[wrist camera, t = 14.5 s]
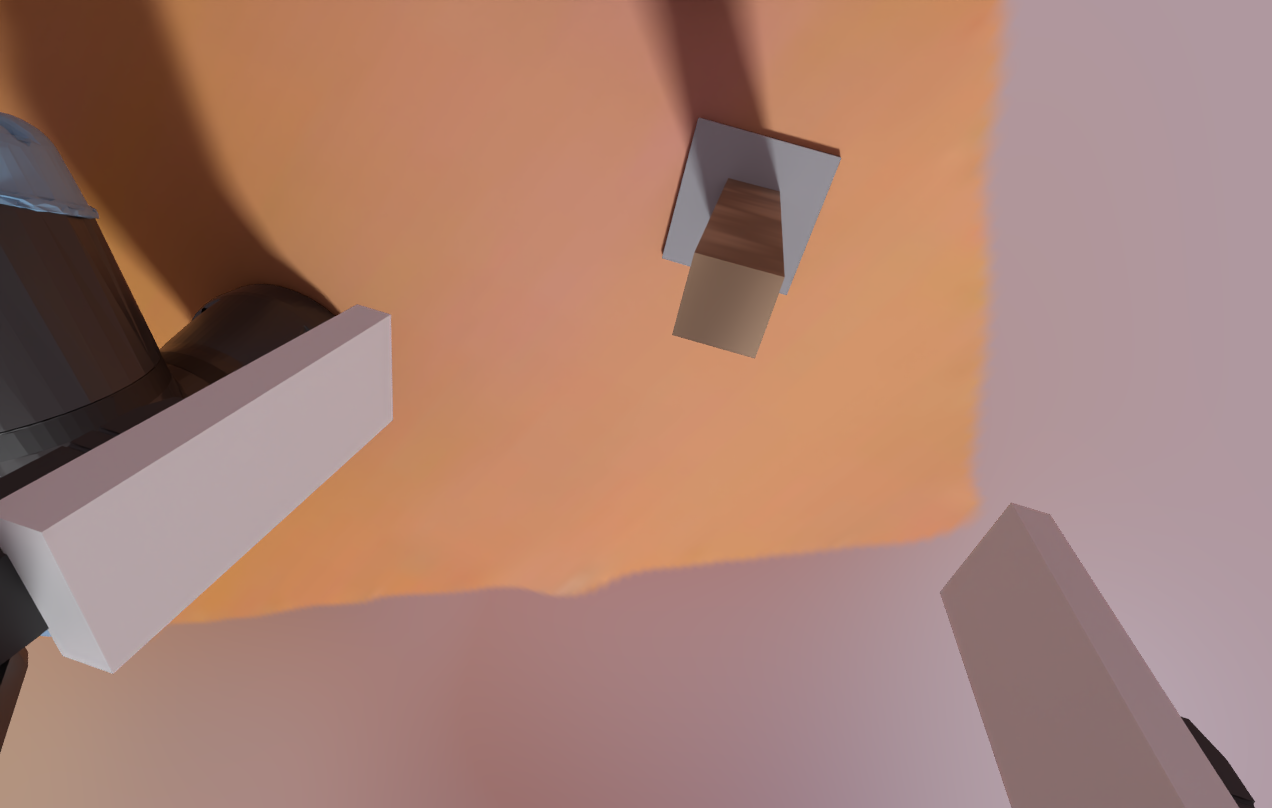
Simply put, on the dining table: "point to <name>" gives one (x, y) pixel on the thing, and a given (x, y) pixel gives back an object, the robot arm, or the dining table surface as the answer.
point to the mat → (755, 163)
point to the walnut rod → (735, 271)
